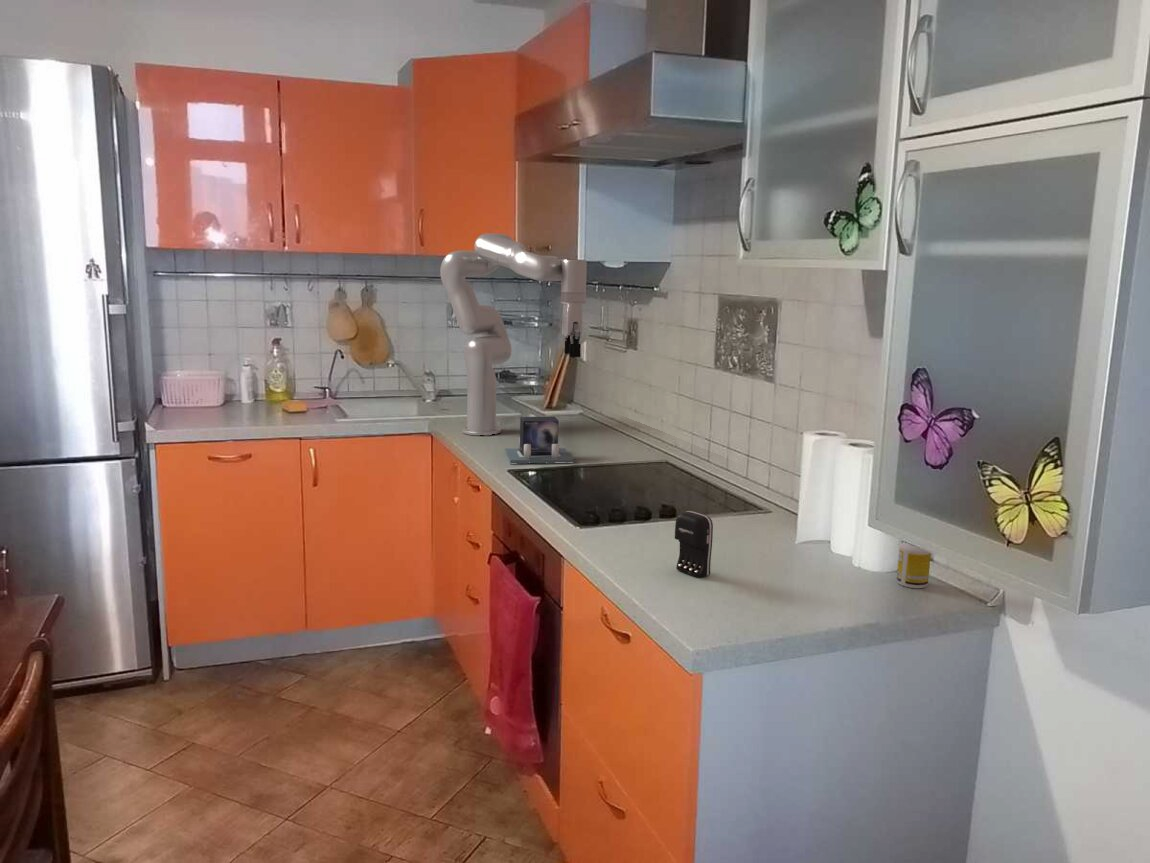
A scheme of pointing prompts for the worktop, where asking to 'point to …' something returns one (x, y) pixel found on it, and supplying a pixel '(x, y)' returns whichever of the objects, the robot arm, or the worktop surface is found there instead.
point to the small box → (538, 434)
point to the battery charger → (694, 543)
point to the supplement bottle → (913, 566)
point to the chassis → (556, 456)
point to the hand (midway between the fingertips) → (572, 355)
